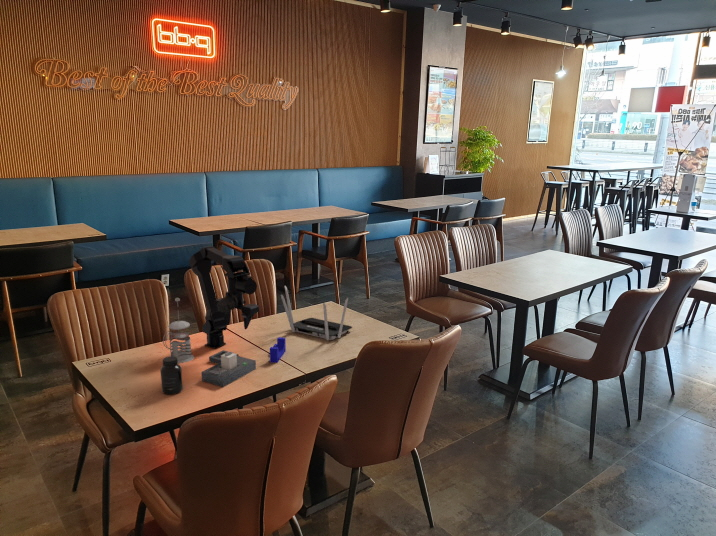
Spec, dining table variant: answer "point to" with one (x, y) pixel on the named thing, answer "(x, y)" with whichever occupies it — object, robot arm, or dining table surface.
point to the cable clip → (277, 350)
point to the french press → (185, 352)
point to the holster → (217, 357)
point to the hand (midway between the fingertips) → (236, 326)
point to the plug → (229, 360)
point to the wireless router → (316, 323)
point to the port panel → (228, 372)
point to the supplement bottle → (171, 376)
